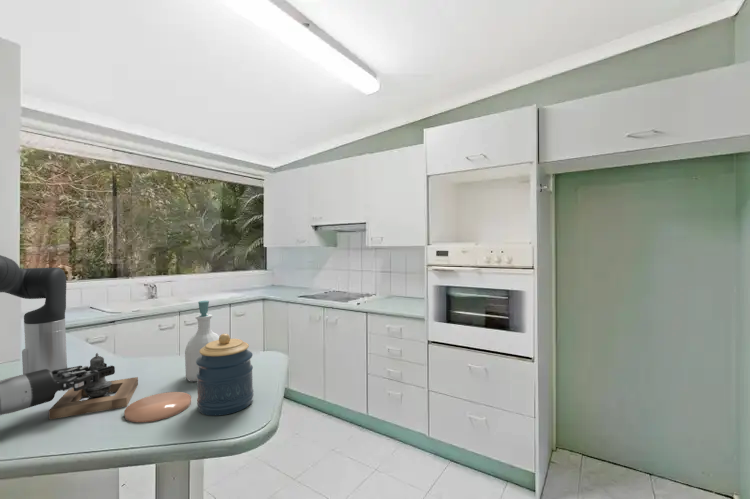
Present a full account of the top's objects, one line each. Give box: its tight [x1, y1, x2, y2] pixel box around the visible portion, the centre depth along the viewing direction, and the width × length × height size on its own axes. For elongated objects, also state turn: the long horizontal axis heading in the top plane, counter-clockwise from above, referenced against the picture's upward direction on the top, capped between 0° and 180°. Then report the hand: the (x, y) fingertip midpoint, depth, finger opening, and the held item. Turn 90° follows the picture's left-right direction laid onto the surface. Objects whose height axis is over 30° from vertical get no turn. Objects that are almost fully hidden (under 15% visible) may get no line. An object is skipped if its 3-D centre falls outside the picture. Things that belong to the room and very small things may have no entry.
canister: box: [196, 333, 254, 417], centre depth 90 cm, size 13×13×18 cm
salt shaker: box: [83, 352, 112, 400], centre depth 94 cm, size 6×6×12 cm
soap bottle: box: [184, 300, 220, 382], centre depth 109 cm, size 10×10×23 cm
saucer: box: [124, 391, 192, 423], centre depth 89 cm, size 14×14×1 cm
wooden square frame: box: [48, 376, 139, 420], centre depth 94 cm, size 15×15×2 cm
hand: (109, 368), depth 96 cm, fingers closed on salt shaker, 3 cm apart
